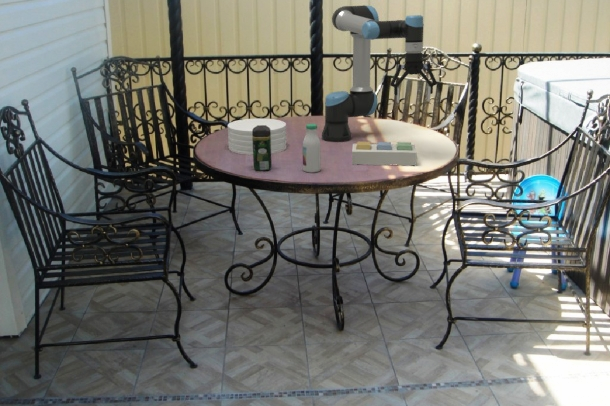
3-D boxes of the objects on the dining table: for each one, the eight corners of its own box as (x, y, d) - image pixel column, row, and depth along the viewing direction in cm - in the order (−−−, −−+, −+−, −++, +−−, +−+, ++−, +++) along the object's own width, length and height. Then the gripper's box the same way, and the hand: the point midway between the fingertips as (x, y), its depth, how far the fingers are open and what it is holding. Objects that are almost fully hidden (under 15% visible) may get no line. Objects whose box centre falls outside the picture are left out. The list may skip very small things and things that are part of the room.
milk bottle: (322, 168, 286) (323, 123, 280) (317, 173, 279) (317, 127, 273) (306, 167, 289) (305, 122, 282) (300, 172, 282) (299, 125, 275)
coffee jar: (253, 165, 292) (252, 124, 285) (271, 165, 292) (270, 123, 286) (252, 171, 282) (251, 129, 276) (271, 171, 283) (270, 128, 277)
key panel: (351, 164, 292) (352, 151, 290) (352, 156, 305) (352, 143, 303) (416, 165, 289) (416, 152, 287) (414, 157, 303) (414, 144, 301)
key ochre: (356, 153, 294) (357, 144, 293) (357, 150, 300) (357, 141, 298) (370, 153, 294) (370, 145, 292) (370, 150, 299) (370, 141, 298)
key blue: (377, 154, 293) (377, 145, 292) (377, 150, 299) (377, 141, 298) (390, 154, 293) (391, 145, 291) (390, 150, 298) (390, 142, 297)
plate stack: (253, 138, 341) (253, 116, 337) (297, 145, 325) (297, 122, 321) (216, 149, 319) (215, 126, 315) (261, 158, 304) (261, 133, 300)
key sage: (397, 154, 293) (398, 145, 291) (397, 150, 298) (397, 142, 297) (411, 154, 292) (411, 145, 291) (410, 151, 298) (410, 142, 296)
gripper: (386, 53, 281) (386, 104, 287) (444, 51, 281) (443, 102, 287) (383, 52, 288) (383, 101, 294) (440, 51, 289) (439, 99, 294)
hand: (413, 102), depth 290 cm, fingers open, 13 cm apart
